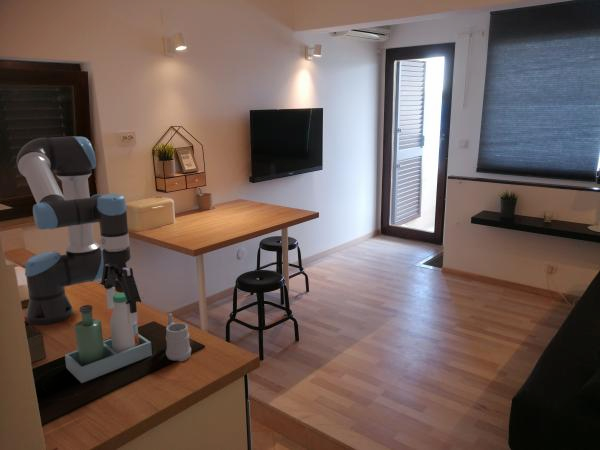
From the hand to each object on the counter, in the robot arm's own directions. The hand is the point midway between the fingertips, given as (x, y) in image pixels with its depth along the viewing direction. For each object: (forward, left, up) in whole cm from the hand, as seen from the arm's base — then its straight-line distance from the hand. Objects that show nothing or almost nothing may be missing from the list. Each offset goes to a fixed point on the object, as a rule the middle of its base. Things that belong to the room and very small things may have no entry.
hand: (122, 314), depth 145 cm
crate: (0, -5, -14) cm, 15 cm away
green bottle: (0, -10, -13) cm, 17 cm away
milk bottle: (0, 0, -14) cm, 14 cm away
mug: (+9, +12, -14) cm, 21 cm away
